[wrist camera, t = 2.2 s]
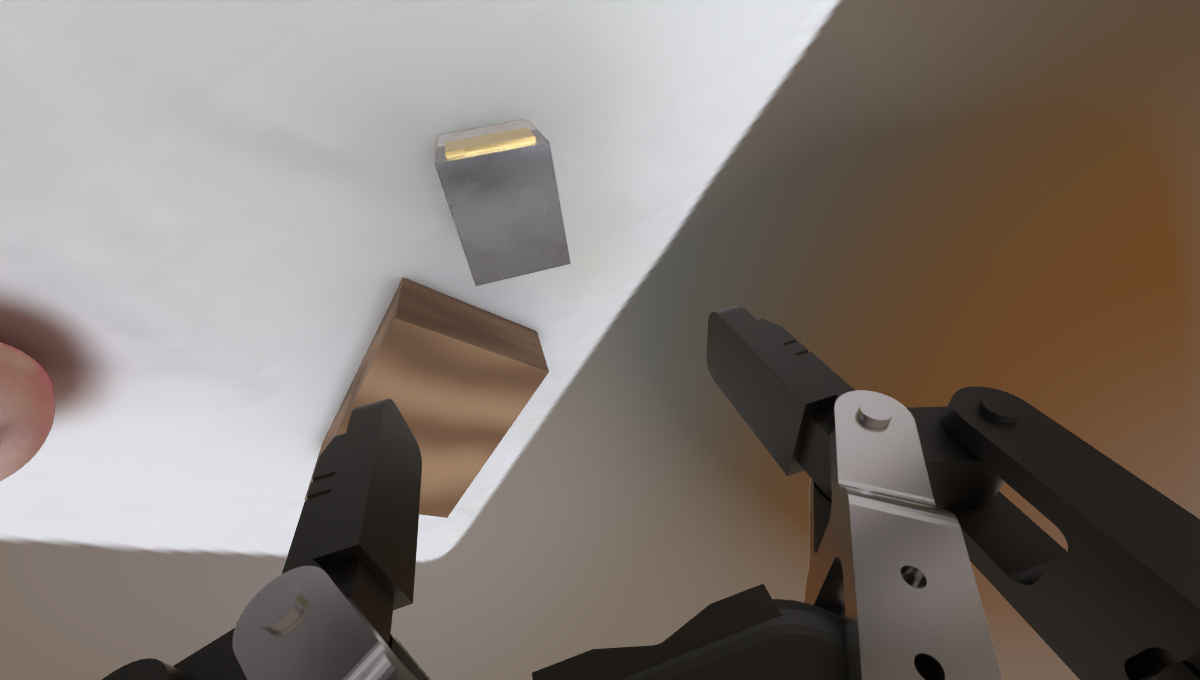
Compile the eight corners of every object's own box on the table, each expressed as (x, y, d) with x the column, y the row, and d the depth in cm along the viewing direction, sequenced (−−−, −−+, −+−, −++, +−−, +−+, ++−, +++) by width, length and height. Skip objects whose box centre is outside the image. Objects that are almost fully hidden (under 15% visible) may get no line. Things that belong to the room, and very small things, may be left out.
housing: (470, 236, 27) (475, 285, 22) (436, 129, 23) (432, 157, 18) (546, 219, 28) (570, 263, 22) (525, 113, 24) (547, 136, 19)
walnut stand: (447, 468, 38) (447, 517, 34) (321, 445, 33) (304, 500, 29) (536, 331, 33) (548, 371, 29) (403, 277, 27) (395, 317, 23)
